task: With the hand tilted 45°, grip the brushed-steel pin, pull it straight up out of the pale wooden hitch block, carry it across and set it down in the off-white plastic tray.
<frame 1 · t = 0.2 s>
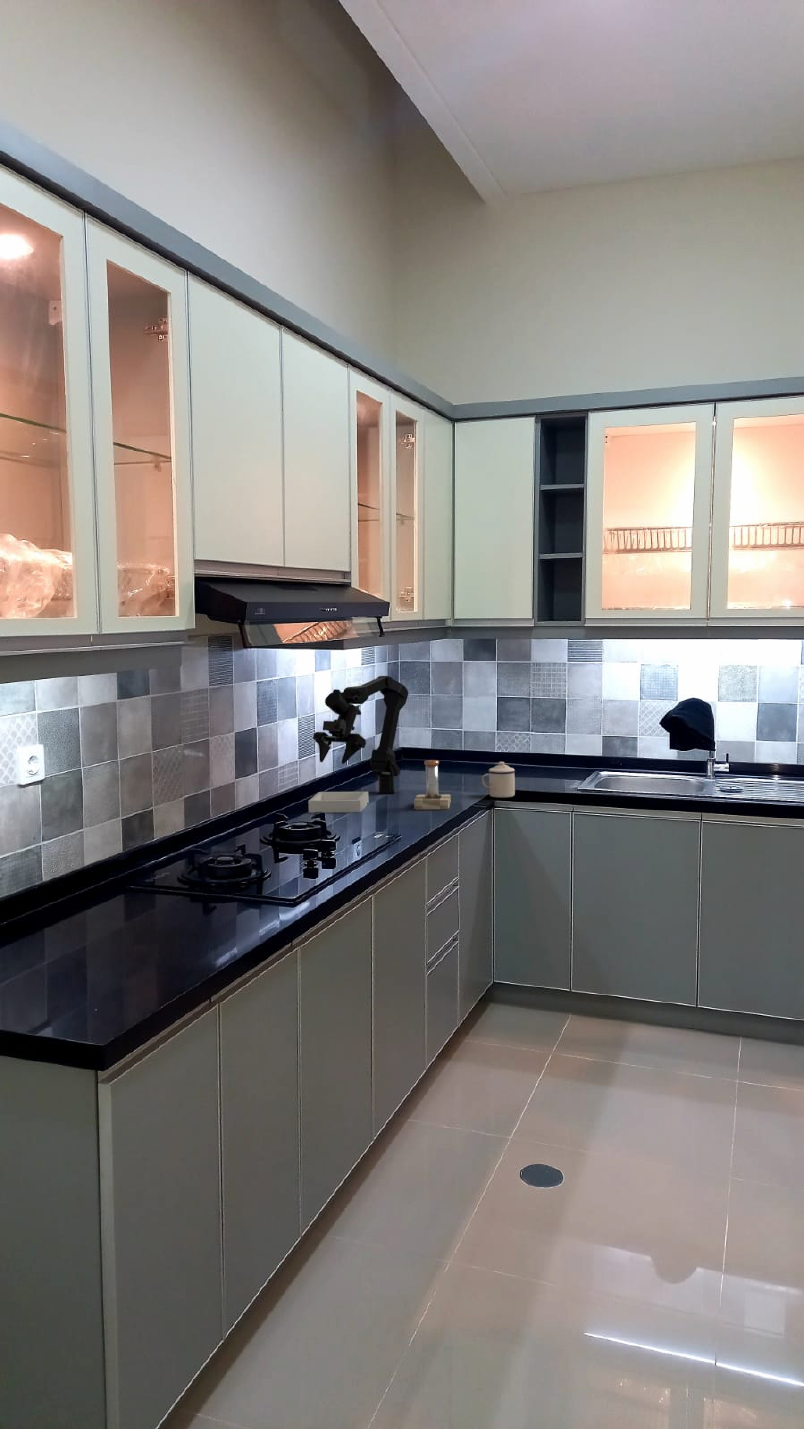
hand: (331, 762, 337), 15 cm above the counter, tool tilted 35°, fingers open, 9 cm apart
metal pin: (432, 783, 333), in the hitch block
tray: (339, 807, 336), on the counter
teacup with lid: (498, 795, 351), on the counter
hitch block: (432, 806, 334), on the counter
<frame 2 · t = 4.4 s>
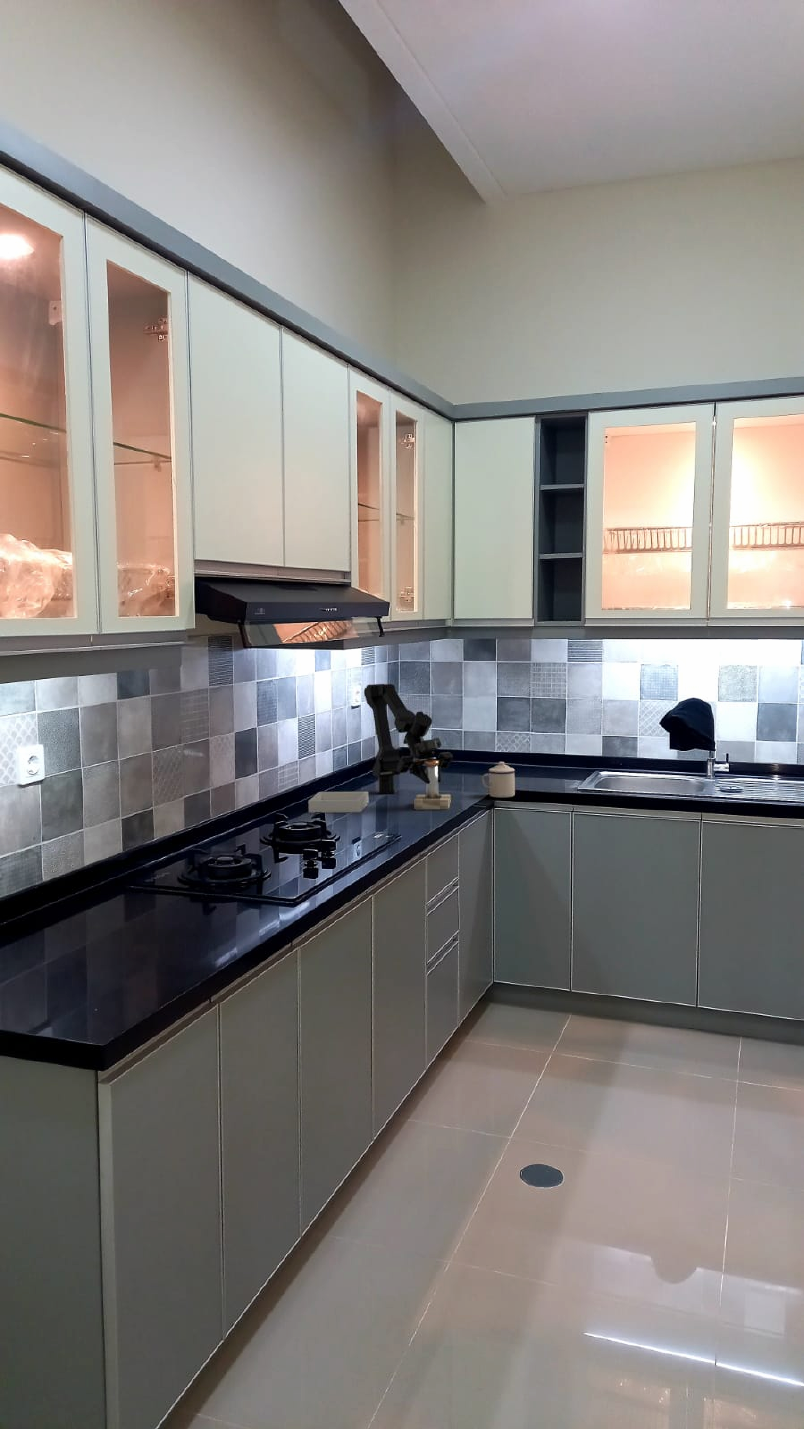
hand: (434, 782, 332), 8 cm above the counter, tool tilted 45°, fingers closed on metal pin, 4 cm apart
metal pin: (432, 783, 333), in the hitch block, touching gripper
everything else where it was.
when the fingers open (10 cm above the counter, at t = 9.8 s): metal pin drops 1 cm, resting on tray.
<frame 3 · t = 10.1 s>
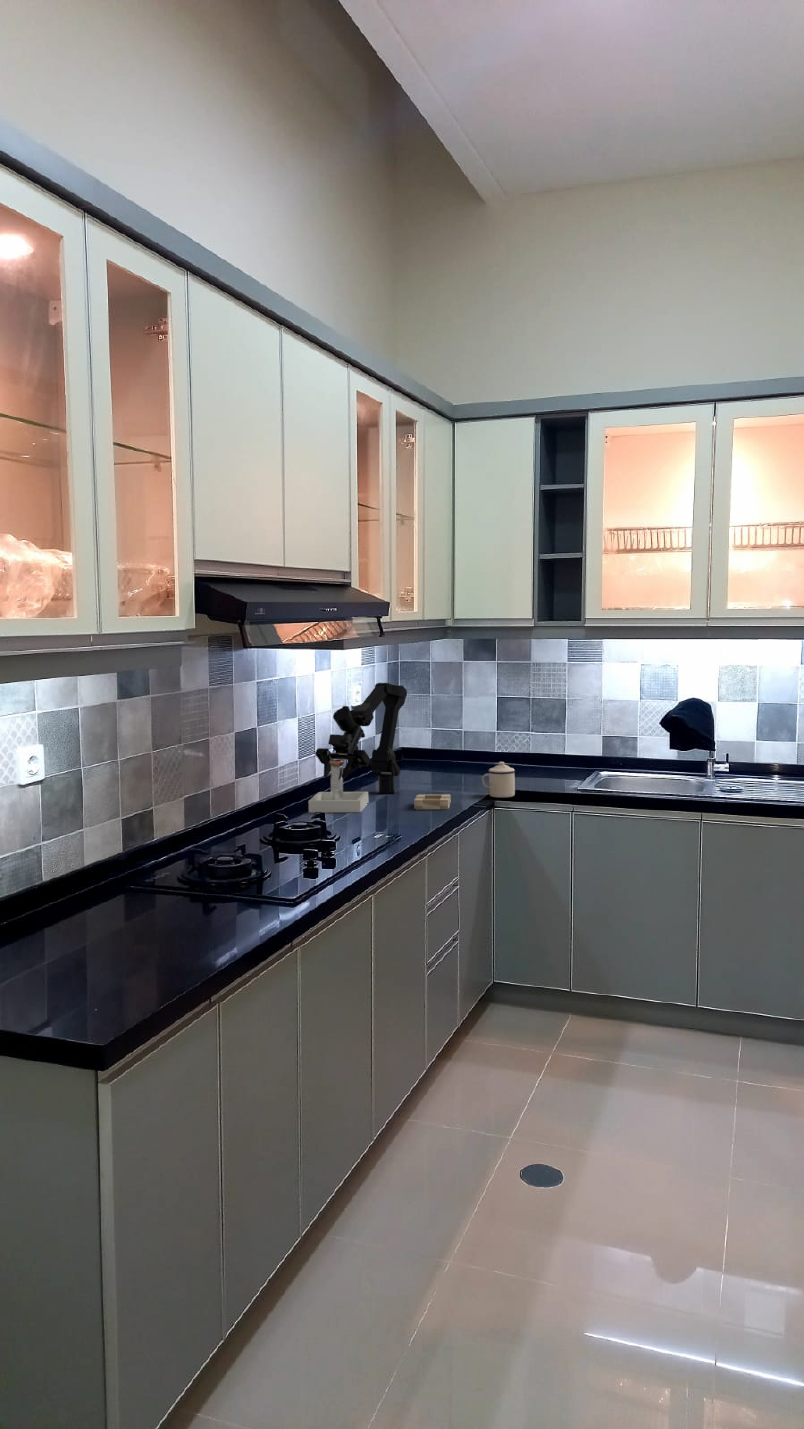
hand: (333, 777, 333), 11 cm above the counter, tool tilted 45°, fingers open, 7 cm apart
metal pin: (336, 783, 334), in the tray, point 8 cm above the counter
everything else where it was.
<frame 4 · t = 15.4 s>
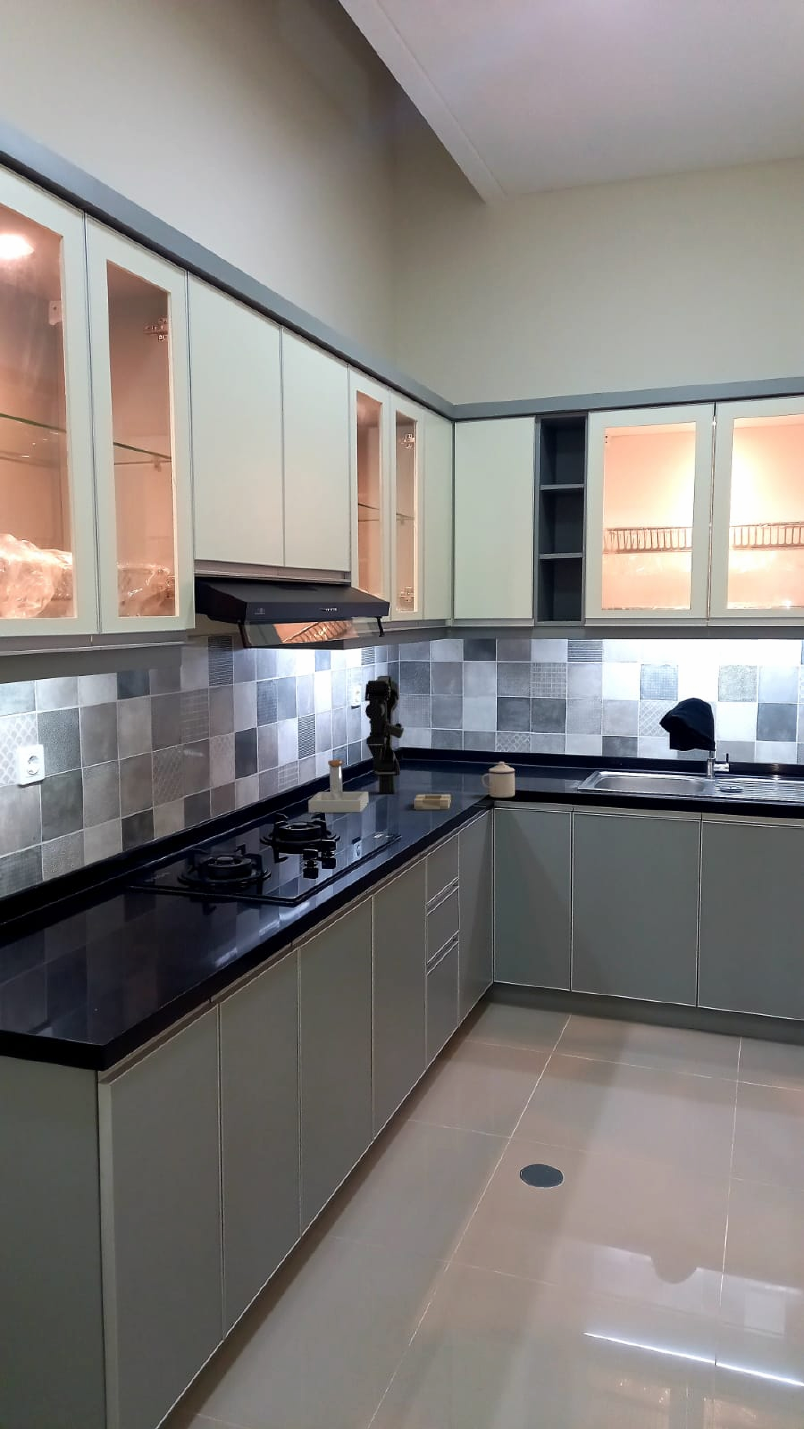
hand: (379, 762, 348), 13 cm above the counter, tool pointing down, fingers open, 9 cm apart
nothing on the counter moved.
at the end: metal pin inside the target area on the tray (1.6 cm from its centre), point 8.3 cm above the tray's base; the gripper is holding nothing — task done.
